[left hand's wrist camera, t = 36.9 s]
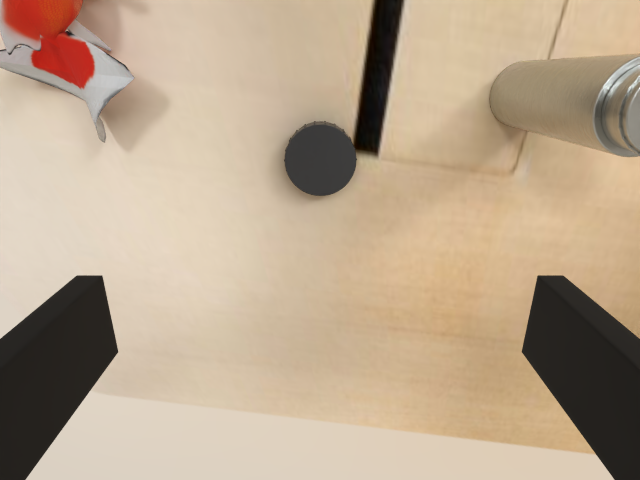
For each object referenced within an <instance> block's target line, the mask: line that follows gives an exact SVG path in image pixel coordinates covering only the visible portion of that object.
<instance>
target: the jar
mask: <svg viewBox="0 0 640 480" xmlns="http://www.w3.org/2000/svg"><path fill="white" fill-rule="evenodd" d="M490 106H491V110H492V112H493V114H494V116H495V117H496V118H497V119H498V120H499V121H500V122H501V123H503V124H505V125H508V126H511V127H515V128H519V129H522V130H526V131H530V132H533V133H537V134H541V135H544V136H548V137H552V138H556V139H559V140H563V141H567V142H570V143H574V144H578V145H581V146H585V147H589V148H592V149H596V150H600V151H603V152H607V153H611V154H614V155H618V156H623V157H637V156H640V54H628V55H612V56H597V57H581V58H566V59H550V60H535V61H522V62H517V63H514V64H512V65H510V66H509V67H507V68H506V69H505V70H503V71H502V72H501V73H500V74H499V76H498V77H497V78H496V80H495V82H494V84H493V86H492V89H491V93H490Z"/></svg>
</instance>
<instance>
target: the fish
mask: <svg viewBox="0 0 640 480" xmlns="http://www.w3.org/2000/svg"><path fill="white" fill-rule="evenodd" d="M82 3H83V0H0V33H1V36H2V39H3V42H4V45H5V47H6V49H4V50H0V68H3V69H5V70H8V71H11V72H14V73H17V74H19V75H22V76H25V77H28V78H31V79H34V80H37V81H40V82H43V83H46V84H48V85H51V86H54V87H56V88H59V89H61V90H64V91H67V92H69V93H71V94H73V95H75V96H77V97H79V98H81V99H83V100H85V101H86V103H87V105H88V107H89V110H90V113H91V116H92V119H93V121H94V124H95V126H96V129H97V132H98V136H99V139H100V140H101V141H102V142H104V143H105V139H106V134H105V129H104V125H103V122H102V120H101V119H100V117H99V115H100V112H101V110H102V109H103V108H104V107H105V105H106V104H107V103H108V102H109V100H110V99H111V98H112V97H114V96H115V95H116V94H117V93H118V92H120V91H121V90H122V89H123V88H124V87H125V86H127V85H128V84H129V83H130V82H131V81H132V80H133V79H134V77H133V75H132V74H131V73H130V71H129V70H128V69H127V67H126V66H125V65H124V64H122V63H121V62H119V61H118V60H116V59H115V58H113V57H112V56H110V55H108V54H107V53H105V52H104V51H102V50H101V49H99V48H98V47H96V46H95V45H97V46H100V47H102V48H104V49H107V50H109V51H111V48H109V47H108V46H107V45H106V44H105V43H104V42H103V41H102V40H101V39H99V38H98V37H97V36H96V35H95V34H93V33H92V32H91V31H89V30H88V29H87V28H85V27H84V26H83V25H81V24H80V23H79V22H78V21H77V20H76V17H77V15H78V14H79V12H80V9H81V6H82ZM66 29H68V30H69V31H70V32H68V31H66V32H65V30H66ZM91 43H92V44H91ZM93 44H95V45H93ZM18 45H22V46H20V47H17V48H15V47H16V46H18Z"/></svg>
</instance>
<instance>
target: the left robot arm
mask: <svg viewBox="0 0 640 480" xmlns="http://www.w3.org/2000/svg"><path fill="white" fill-rule="evenodd" d="M117 353H118V349H117V344H116V339H115V334H114V329H113V325H112V320H111V315H110V310H109V305H108V301H107V296H106V291H105V286H104V282H103V277H102V276H76V277H75V278H73V279H72V280H71V281H70V282H69V283H67V284H66V285H65V286H64V287H62V288H61V289H60V290H59V291H58V292H56V293H55V294H54V295H53V296H52V297H50V298H49V299H48V300H47V301H46V302H44V303H43V304H42V305H41V306H40V307H38V308H37V309H36V310H35V311H33V312H32V313H31V314H30V315H29V316H27V317H26V318H25V319H24V320H23V321H21V322H20V323H19V324H18V325H17V326H15V327H14V328H13V329H12V330H11V331H9V332H8V333H7V334H6V335H4V336H3V337H2V338H1V339H0V480H25V479H26V478H27V477H28V475H29V474H30V473H31V471H32V470H33V468H34V467H35V466H36V464H37V463H38V462H39V460H40V459H41V457H42V456H43V455H44V453H45V452H46V451H47V449H48V448H49V446H50V445H51V444H52V442H53V441H54V440H55V438H56V437H57V435H58V434H59V433H60V431H61V430H62V428H63V427H64V426H65V424H66V423H67V422H68V420H69V419H70V418H71V416H72V415H73V413H74V412H75V411H76V409H77V408H78V406H79V405H80V404H81V402H82V401H83V400H84V398H85V397H86V396H87V394H88V393H89V391H90V390H91V389H92V387H93V386H94V385H95V383H96V382H97V380H98V379H99V378H100V376H101V375H102V374H103V372H104V371H105V369H106V368H107V367H108V365H109V364H110V363H111V361H112V360H113V358H114V357H115V356H116V354H117ZM522 353H523V354H524V356H525V357H526V358H527V360H528V361H529V363H530V364H531V365H532V367H533V368H534V369H535V371H536V372H537V374H538V375H539V376H540V378H541V379H542V380H543V382H544V383H545V385H546V386H547V387H548V389H549V390H550V391H551V393H552V394H553V396H554V397H555V398H556V400H557V401H558V402H559V404H560V405H561V407H562V408H563V409H564V411H565V412H566V413H567V415H568V416H569V418H570V419H571V420H572V422H573V423H574V424H575V426H576V427H577V429H578V430H579V431H580V433H581V434H582V435H583V437H584V438H585V440H586V441H587V442H588V444H589V445H590V446H591V448H592V449H593V451H594V452H595V453H596V455H597V456H598V457H599V459H600V460H601V462H602V463H603V464H604V466H605V467H606V468H607V470H608V471H609V473H610V474H611V475H612V477H613V478H614V479H615V480H640V339H639V338H638V337H637V336H636V335H634V334H633V333H632V332H631V331H629V330H628V329H627V328H626V327H625V326H623V325H622V324H621V323H620V322H619V321H617V320H616V319H615V318H614V317H613V316H611V315H610V314H609V313H608V312H607V311H605V310H604V309H603V308H602V307H600V306H599V305H598V304H597V303H596V302H594V301H593V300H592V299H591V298H590V297H588V296H587V295H586V294H585V293H584V292H582V291H581V290H580V289H579V288H578V287H576V286H575V285H574V284H573V283H571V282H570V281H569V280H568V279H567V278H565V277H564V276H538V277H537V282H536V286H535V291H534V296H533V301H532V305H531V310H530V315H529V320H528V325H527V329H526V334H525V339H524V344H523V349H522Z"/></svg>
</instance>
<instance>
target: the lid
mask: <svg viewBox="0 0 640 480" xmlns="http://www.w3.org/2000/svg"><path fill="white" fill-rule="evenodd" d="M285 151H286V153H285V160H284V161H285V167H286V171H287V174H288V176H289V178H290V179H291V181H292V182H293V183H294V184H295V186H297V187H298V188H299V189H300V190H302V191H304V192H306V193H308V194H311V195H316V196H325V195H330V194H333V193H335V192H337V191H339V190H341V189H342V188H343V187H344V186H346V184H347V183H348V182H349V181H350V179H351V178H352V176H353V174H354V171H355V167H356V160H357V159H356V153H355V147H354V146H353V144H352V142H351V138H350V137H348V135H347V134H346V133H345V132H344V130H343V129H341V128H339V127H338V126H336V125H335V124H331V123H328V122H326V121H324V122H315V121H314V122H313V123H310V124H307V125H306V124H305V125H304V126H303V127H302V128H300V129H299V130H296V133H295V134H294V135H293V137H292V138H290V140H289V144H288V147H287V148H286V150H285Z"/></svg>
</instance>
